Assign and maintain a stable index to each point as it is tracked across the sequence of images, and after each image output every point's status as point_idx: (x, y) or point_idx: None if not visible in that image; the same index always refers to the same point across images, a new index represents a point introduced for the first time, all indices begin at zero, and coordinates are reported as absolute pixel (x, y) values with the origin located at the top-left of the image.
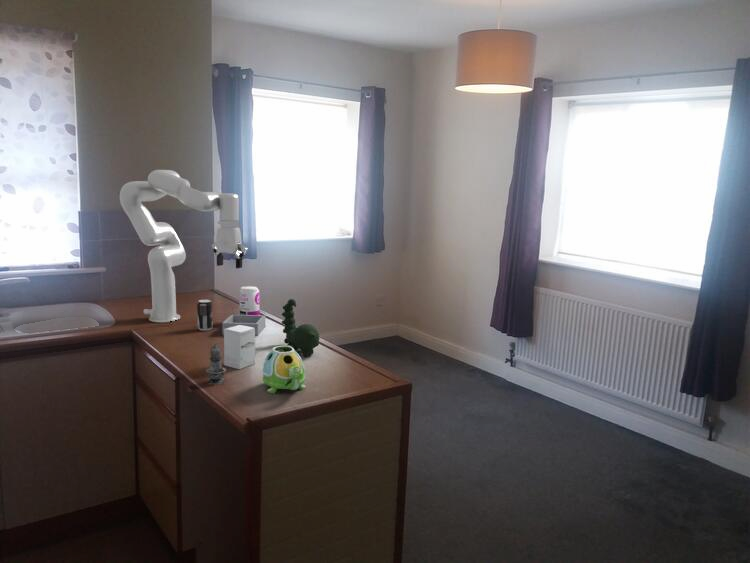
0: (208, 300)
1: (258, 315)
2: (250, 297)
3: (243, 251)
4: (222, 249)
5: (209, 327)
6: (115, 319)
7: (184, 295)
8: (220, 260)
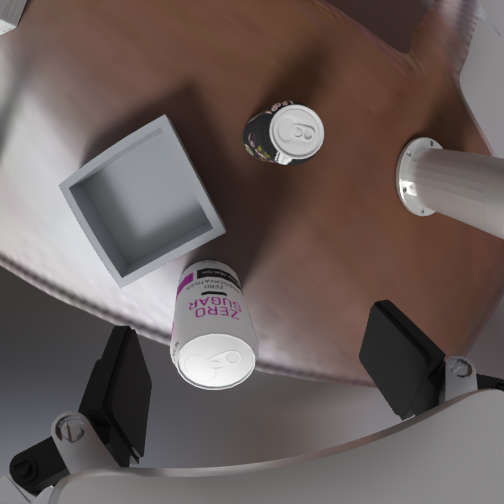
0: (291, 152)
1: (138, 277)
2: (180, 319)
3: (9, 492)
4: (415, 475)
5: (243, 131)
6: (478, 131)
7: (458, 343)
8: (390, 359)
